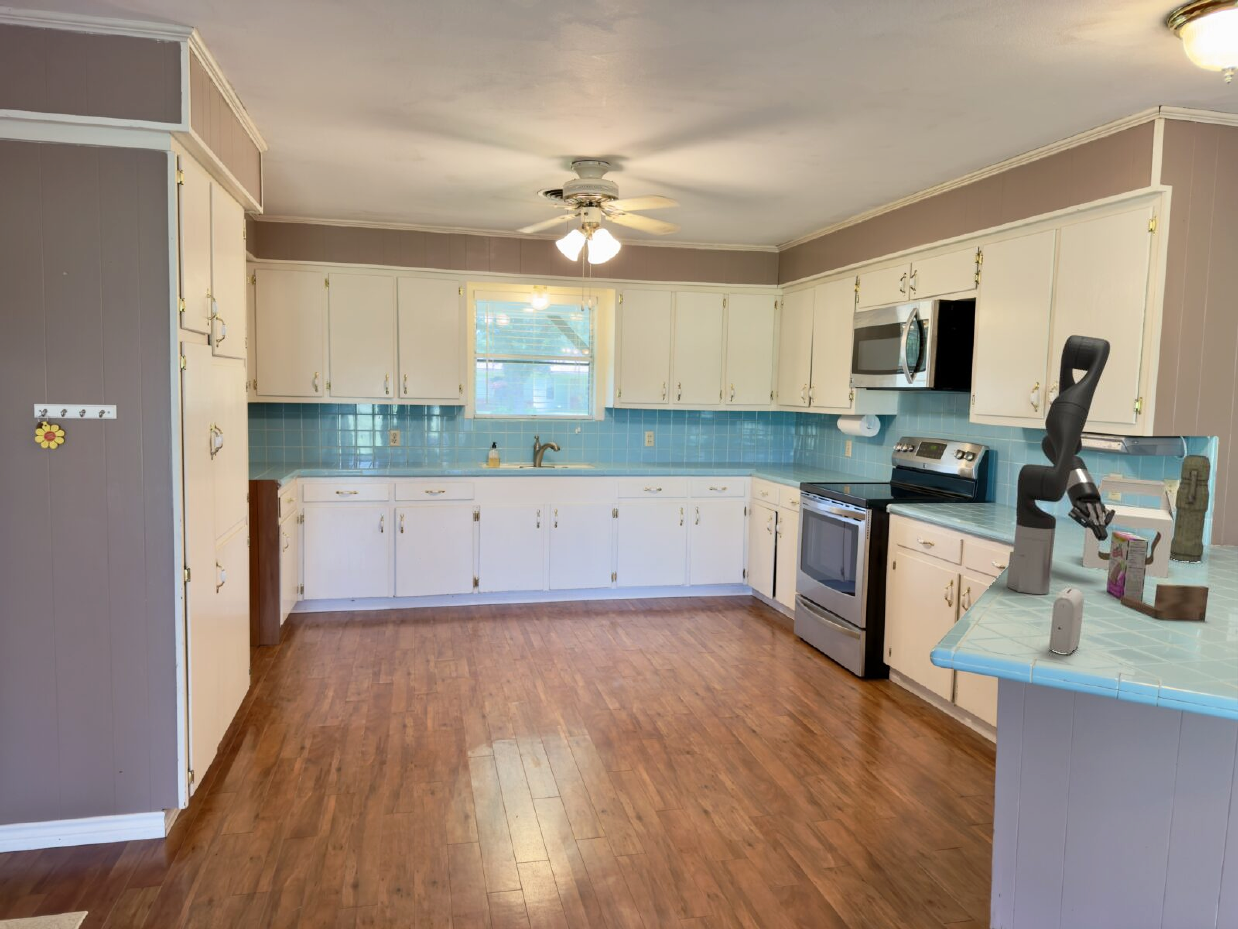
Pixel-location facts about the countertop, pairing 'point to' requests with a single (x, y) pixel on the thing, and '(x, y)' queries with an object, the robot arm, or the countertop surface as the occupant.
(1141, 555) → the candy bar box
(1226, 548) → the countertop surface
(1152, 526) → the gable box
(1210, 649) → the countertop surface
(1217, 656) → the countertop surface
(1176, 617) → the walnut rack
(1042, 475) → the robot arm
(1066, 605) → the photo printer
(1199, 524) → the moai statue
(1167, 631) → the countertop surface
